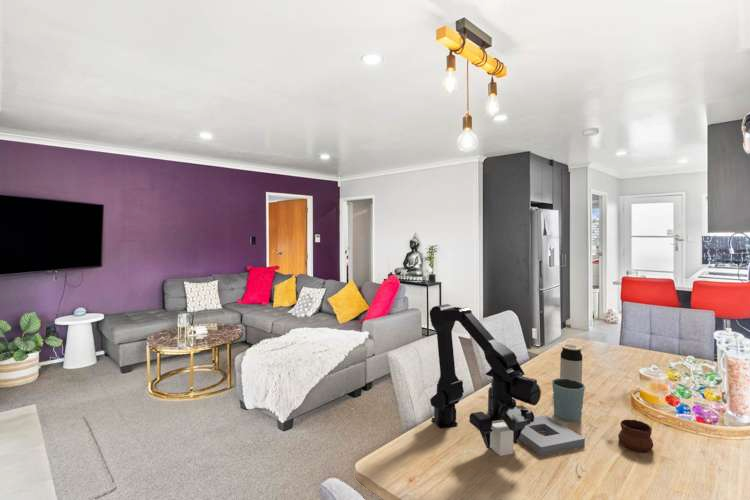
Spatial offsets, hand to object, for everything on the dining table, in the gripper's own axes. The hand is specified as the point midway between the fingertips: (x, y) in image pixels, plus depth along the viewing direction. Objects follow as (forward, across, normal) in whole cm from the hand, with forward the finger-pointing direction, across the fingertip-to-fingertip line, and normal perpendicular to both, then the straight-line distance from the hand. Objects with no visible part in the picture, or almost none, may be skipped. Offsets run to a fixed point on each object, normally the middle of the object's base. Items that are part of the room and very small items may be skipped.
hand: (501, 445), depth 116 cm
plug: (+1, 0, 0) cm, 1 cm away
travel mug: (+2, +55, +30) cm, 63 cm away
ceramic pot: (+2, +40, -10) cm, 41 cm away
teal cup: (+2, +35, +11) cm, 37 cm away
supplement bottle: (+2, +13, +20) cm, 24 cm away
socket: (+1, +17, +2) cm, 17 cm away
